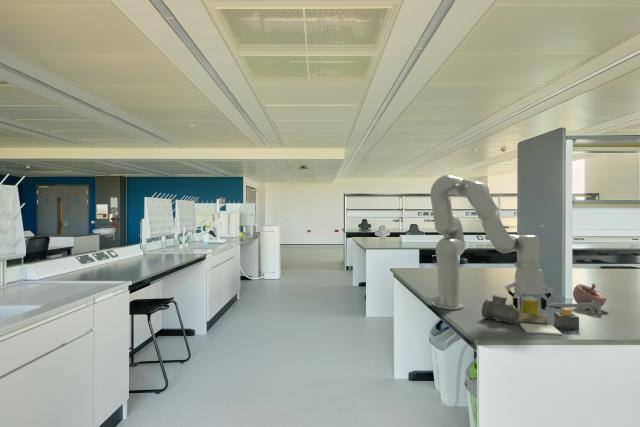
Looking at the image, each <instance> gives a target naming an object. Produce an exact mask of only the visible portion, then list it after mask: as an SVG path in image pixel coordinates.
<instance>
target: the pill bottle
mask: <svg viewBox="0 0 640 427" xmlns="http://www.w3.org/2000/svg"><path fill="white" fill-rule="evenodd" d="M519 308H520V313H524V314H538V309H539V299H538V297H537V295H523V294H520V295H519Z"/></svg>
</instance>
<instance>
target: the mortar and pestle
mask: <svg viewBox="0 0 640 427" xmlns="http://www.w3.org/2000/svg"><path fill="white" fill-rule="evenodd" d="M596 287H597V286H596V284H595V283H592V284H591V287H590V286H588V285H586V284H581V283H578V284H576V286H575V287H574V288H573V290H572V297H573V299H574V301H575V302H576V303H575V304H579V303H593V302H592V300H594V301H596V300H597V303H599V304H600V307H601V308H602V307H603V306H604V305H605V304H606V302H607V297H606V296H605V295H604V294H602V293H601V292H600V291H598V290H596ZM594 309H595V310H597V309H596V308H594ZM588 310H590V308H589V309H588Z"/></svg>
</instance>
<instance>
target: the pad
mask: <svg viewBox="0 0 640 427" xmlns="http://www.w3.org/2000/svg"><path fill="white" fill-rule="evenodd" d="M519 325H520V327H521V328H522V329H523V330H524V332H526V333H527V334H543V335H553V336H563V333H562V332H561V330H560V329H558V328H557V327H556V326H555V325H551V324H542V323H528V322H520V323H519Z"/></svg>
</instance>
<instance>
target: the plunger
mask: <svg viewBox="0 0 640 427" xmlns="http://www.w3.org/2000/svg"><path fill="white" fill-rule="evenodd" d="M560 310H561V315H564V316H571V313H572V309H571V308H568V307H561V309H560Z"/></svg>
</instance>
